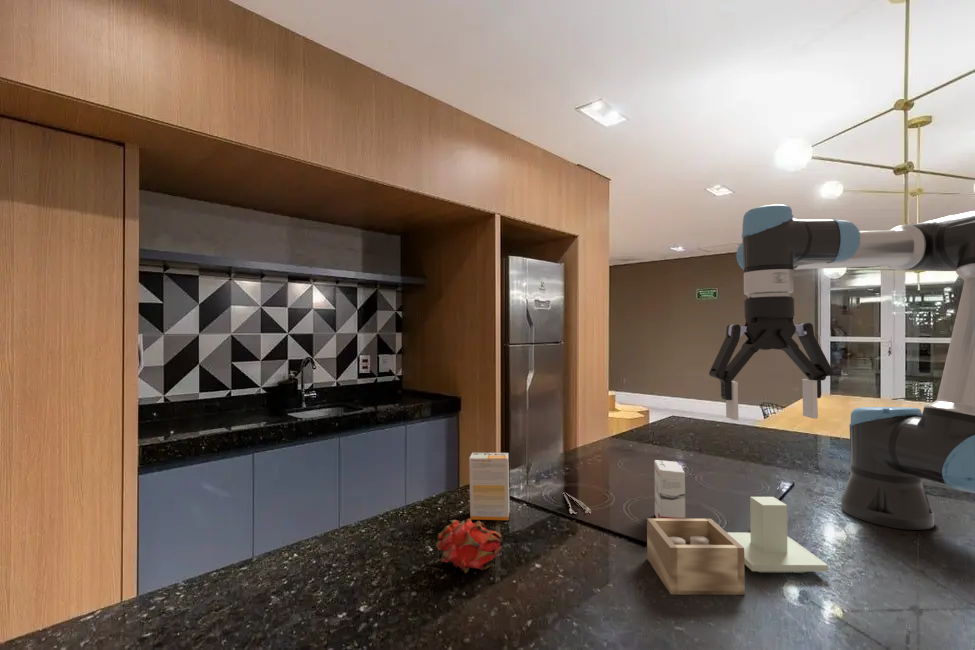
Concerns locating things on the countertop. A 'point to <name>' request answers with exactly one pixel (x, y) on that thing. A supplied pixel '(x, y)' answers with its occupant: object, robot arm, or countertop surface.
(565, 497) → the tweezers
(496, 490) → the supplement box
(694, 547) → the storage box
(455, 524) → the dragon fruit
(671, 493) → the ink box
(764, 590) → the countertop surface
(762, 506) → the lid
